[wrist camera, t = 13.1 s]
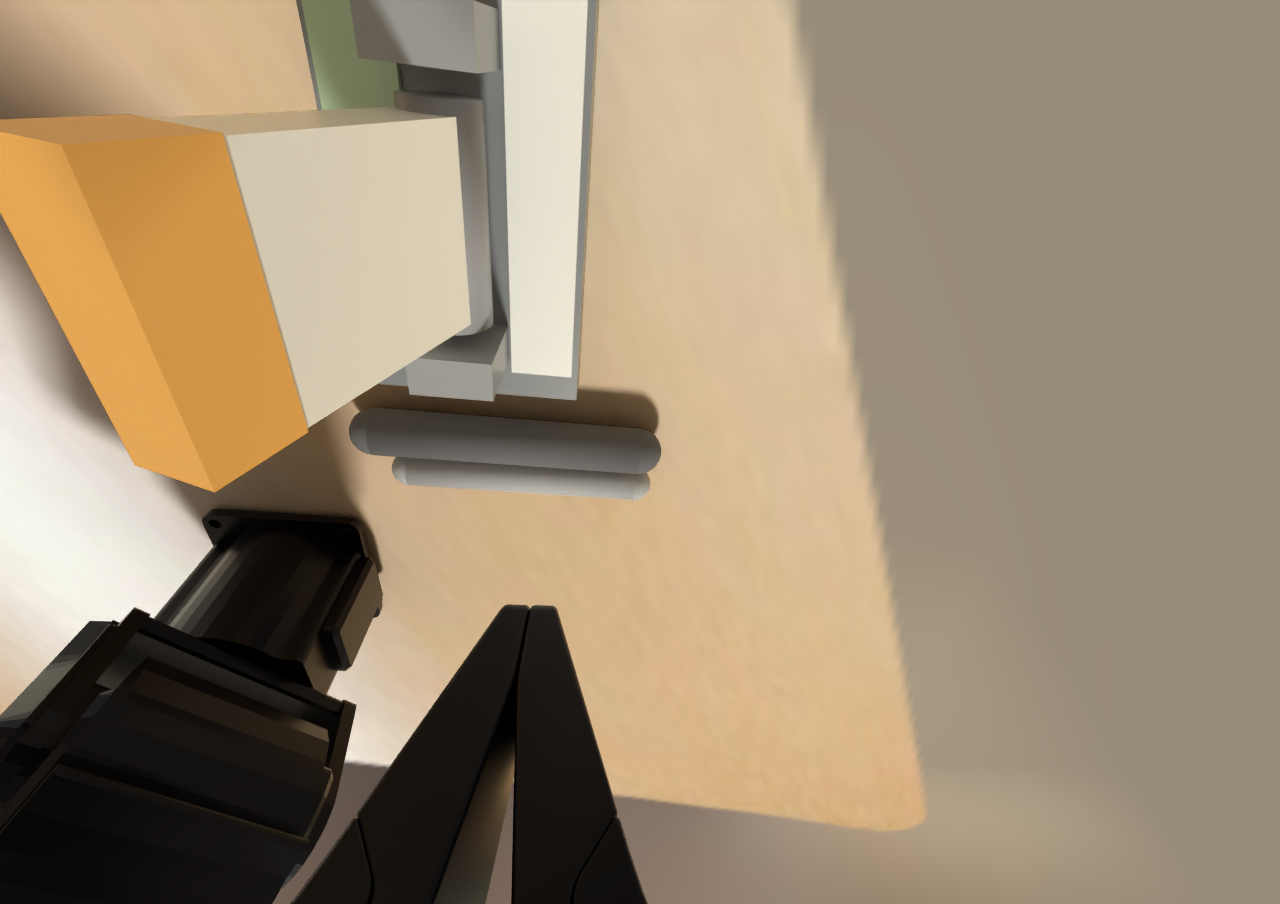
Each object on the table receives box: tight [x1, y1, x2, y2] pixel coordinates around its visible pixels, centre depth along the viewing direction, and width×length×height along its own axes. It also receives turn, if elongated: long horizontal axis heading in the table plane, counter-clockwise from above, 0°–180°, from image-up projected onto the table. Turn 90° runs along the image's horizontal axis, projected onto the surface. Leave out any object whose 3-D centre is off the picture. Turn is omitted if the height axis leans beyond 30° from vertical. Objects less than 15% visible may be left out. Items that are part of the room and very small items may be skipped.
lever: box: [0, 90, 494, 492], centre depth 12 cm, size 2×6×10 cm, turn 174°
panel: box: [296, 0, 599, 401], centre depth 15 cm, size 7×12×4 cm, turn 174°
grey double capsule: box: [349, 408, 661, 500], centre depth 22 cm, size 12×3×2 cm, turn 84°
